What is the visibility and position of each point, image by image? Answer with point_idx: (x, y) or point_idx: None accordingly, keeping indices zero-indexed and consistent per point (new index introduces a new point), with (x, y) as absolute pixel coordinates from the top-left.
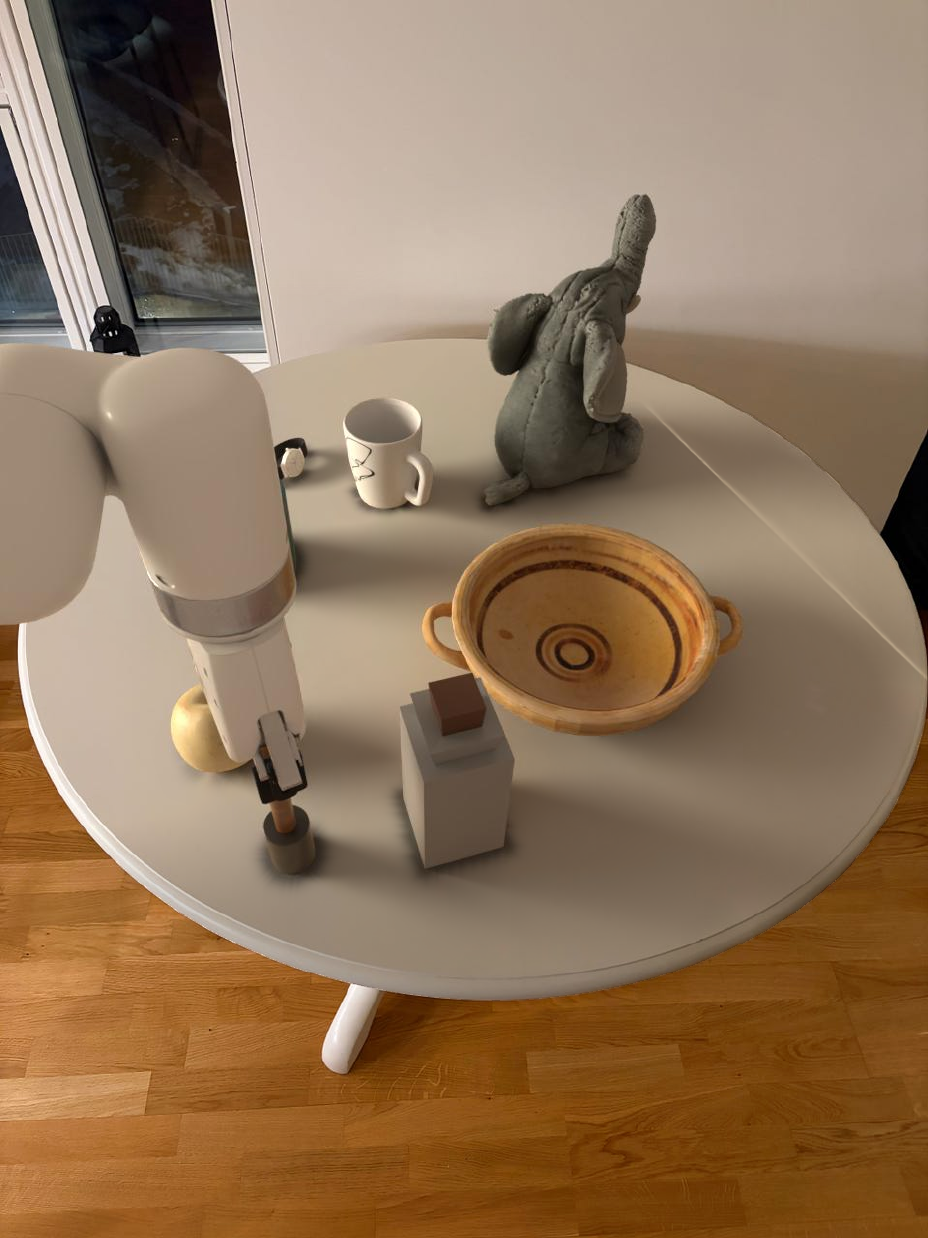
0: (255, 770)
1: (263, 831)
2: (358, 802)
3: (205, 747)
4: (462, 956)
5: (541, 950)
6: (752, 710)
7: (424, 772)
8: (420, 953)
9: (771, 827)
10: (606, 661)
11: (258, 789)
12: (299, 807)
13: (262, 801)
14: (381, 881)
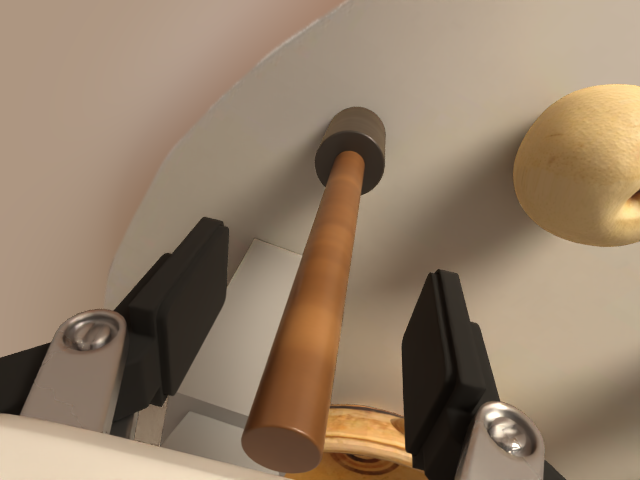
0: (136, 314)
1: (360, 133)
2: (367, 232)
3: (571, 135)
4: (157, 212)
5: (136, 264)
6: None
7: (184, 397)
8: (175, 183)
9: (160, 422)
10: (339, 459)
11: (172, 253)
12: (361, 194)
13: (199, 222)
14: (266, 197)
